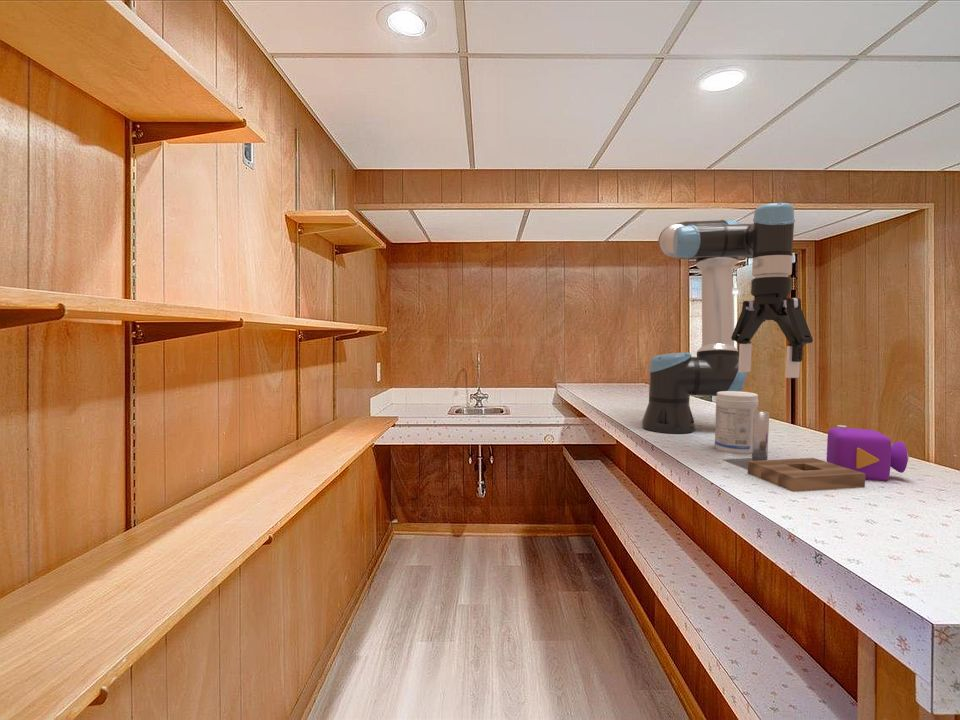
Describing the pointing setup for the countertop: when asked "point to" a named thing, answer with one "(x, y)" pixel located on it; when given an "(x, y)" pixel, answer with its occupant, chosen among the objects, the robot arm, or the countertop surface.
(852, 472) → the socket block
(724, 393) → the supplement tub
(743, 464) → the mat
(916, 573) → the countertop surface
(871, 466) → the toy camera
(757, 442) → the peg
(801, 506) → the countertop surface
